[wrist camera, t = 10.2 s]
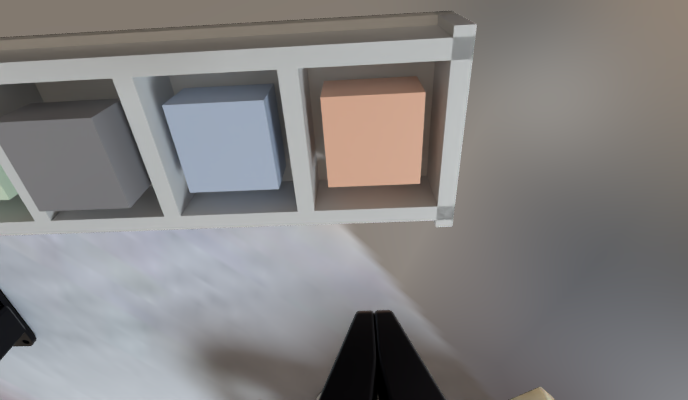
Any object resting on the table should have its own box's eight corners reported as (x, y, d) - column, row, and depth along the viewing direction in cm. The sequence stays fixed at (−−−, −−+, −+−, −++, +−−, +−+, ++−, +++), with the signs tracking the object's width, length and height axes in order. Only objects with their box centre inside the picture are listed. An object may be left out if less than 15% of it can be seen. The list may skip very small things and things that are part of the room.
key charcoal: (72, 184, 19) (39, 211, 17) (30, 102, 17) (-13, 123, 15) (154, 181, 19) (130, 208, 17) (122, 98, 17) (91, 117, 15)
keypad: (-15, 202, 23) (-77, 244, 20) (-121, 44, 18) (-228, 64, 15) (436, 184, 22) (452, 226, 18) (451, 10, 17) (477, 24, 14)
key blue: (206, 168, 20) (190, 192, 18) (183, 88, 18) (162, 105, 16) (286, 165, 20) (279, 189, 18) (273, 83, 17) (263, 100, 15)
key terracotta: (330, 163, 20) (328, 187, 17) (323, 80, 17) (320, 97, 15) (412, 159, 19) (420, 183, 17) (416, 76, 17) (425, 92, 15)
